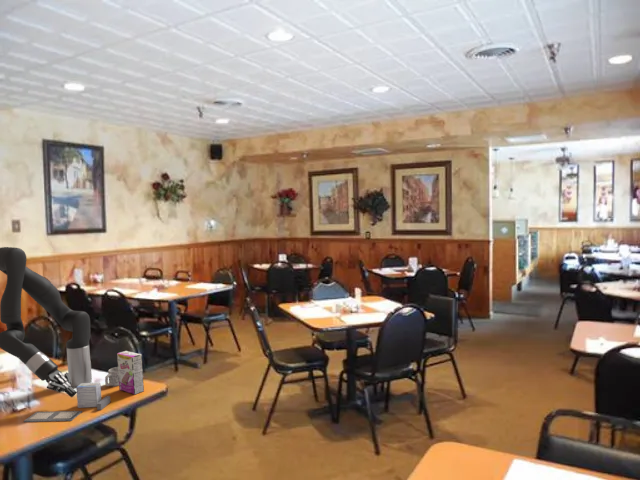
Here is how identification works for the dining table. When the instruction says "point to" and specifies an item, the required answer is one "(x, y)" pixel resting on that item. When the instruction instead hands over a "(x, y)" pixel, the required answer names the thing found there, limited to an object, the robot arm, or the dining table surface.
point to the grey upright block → (88, 394)
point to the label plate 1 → (40, 416)
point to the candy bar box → (130, 372)
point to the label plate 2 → (65, 416)
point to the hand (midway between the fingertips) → (74, 395)
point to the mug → (112, 377)
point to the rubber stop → (103, 403)
